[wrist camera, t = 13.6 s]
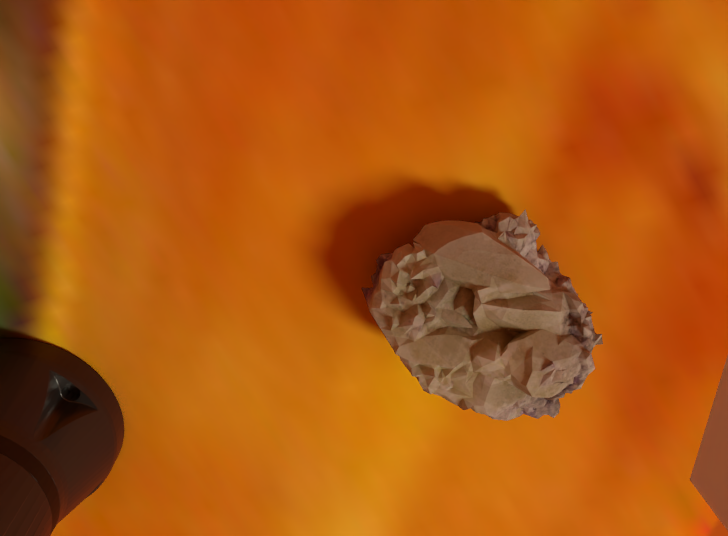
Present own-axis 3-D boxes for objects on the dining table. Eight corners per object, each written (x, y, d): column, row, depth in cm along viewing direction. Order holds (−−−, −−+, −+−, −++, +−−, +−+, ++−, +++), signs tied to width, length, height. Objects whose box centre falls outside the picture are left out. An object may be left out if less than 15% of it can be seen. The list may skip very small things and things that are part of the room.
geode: (411, 176, 51) (367, 353, 55) (378, 176, 43) (328, 388, 46) (634, 233, 47) (573, 421, 50) (650, 247, 38) (574, 475, 41)
